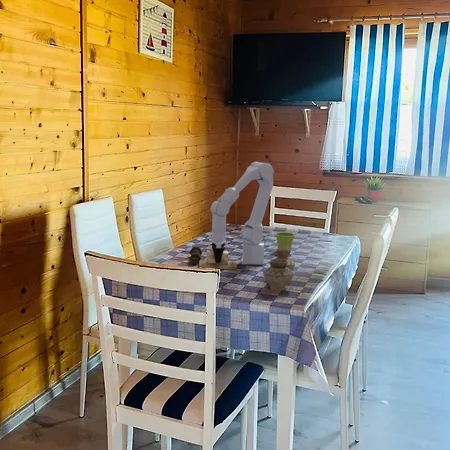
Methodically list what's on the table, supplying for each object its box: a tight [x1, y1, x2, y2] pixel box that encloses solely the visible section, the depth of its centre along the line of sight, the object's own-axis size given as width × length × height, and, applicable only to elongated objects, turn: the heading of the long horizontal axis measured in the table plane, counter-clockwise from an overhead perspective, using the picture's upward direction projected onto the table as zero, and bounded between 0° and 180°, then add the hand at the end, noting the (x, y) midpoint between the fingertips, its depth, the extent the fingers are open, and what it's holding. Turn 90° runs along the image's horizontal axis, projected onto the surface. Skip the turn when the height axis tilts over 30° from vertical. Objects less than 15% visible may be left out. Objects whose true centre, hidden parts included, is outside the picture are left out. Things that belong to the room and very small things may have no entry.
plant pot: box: [274, 231, 296, 253], centre depth 263 cm, size 9×9×9 cm
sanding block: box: [206, 249, 229, 265], centre depth 233 cm, size 9×5×5 cm, turn 91°
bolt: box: [189, 246, 203, 265], centre depth 240 cm, size 6×5×15 cm
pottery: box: [262, 247, 296, 292], centre depth 209 cm, size 11×25×12 cm, turn 169°
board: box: [198, 259, 238, 270], centre depth 233 cm, size 16×10×1 cm, turn 92°
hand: (217, 261), depth 233 cm, fingers closed on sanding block, 5 cm apart
